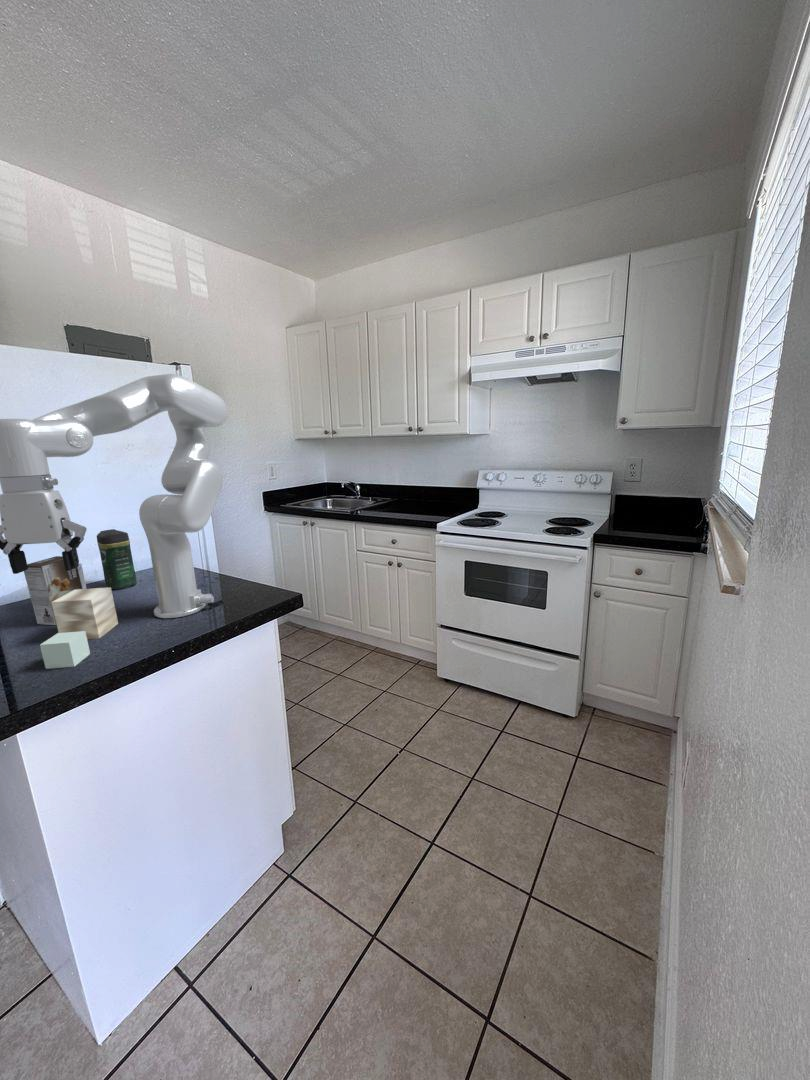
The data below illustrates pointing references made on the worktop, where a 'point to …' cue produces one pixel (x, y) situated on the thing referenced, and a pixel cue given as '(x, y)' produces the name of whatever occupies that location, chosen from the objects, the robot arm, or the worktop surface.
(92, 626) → the birch base block
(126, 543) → the coffee jar
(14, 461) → the robot arm
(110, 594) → the maple top block
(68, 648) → the sage block
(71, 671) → the worktop surface
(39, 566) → the coffee box
